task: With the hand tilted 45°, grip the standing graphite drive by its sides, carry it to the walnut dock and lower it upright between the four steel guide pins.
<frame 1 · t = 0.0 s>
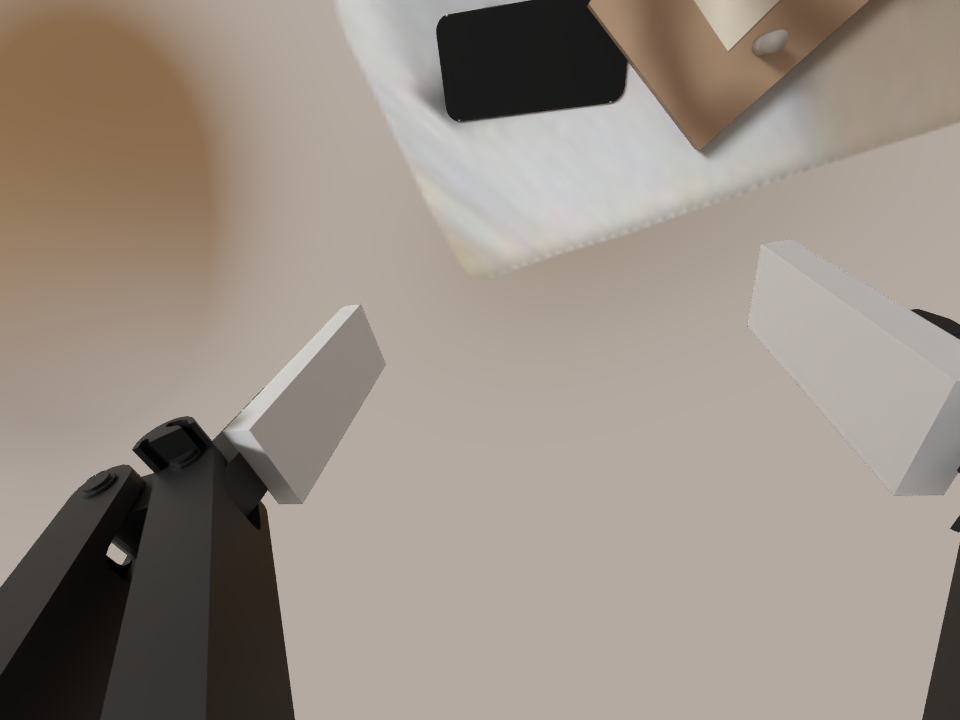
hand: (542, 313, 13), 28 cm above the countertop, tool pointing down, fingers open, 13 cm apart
smartphone: (531, 60, 32), on the countertop
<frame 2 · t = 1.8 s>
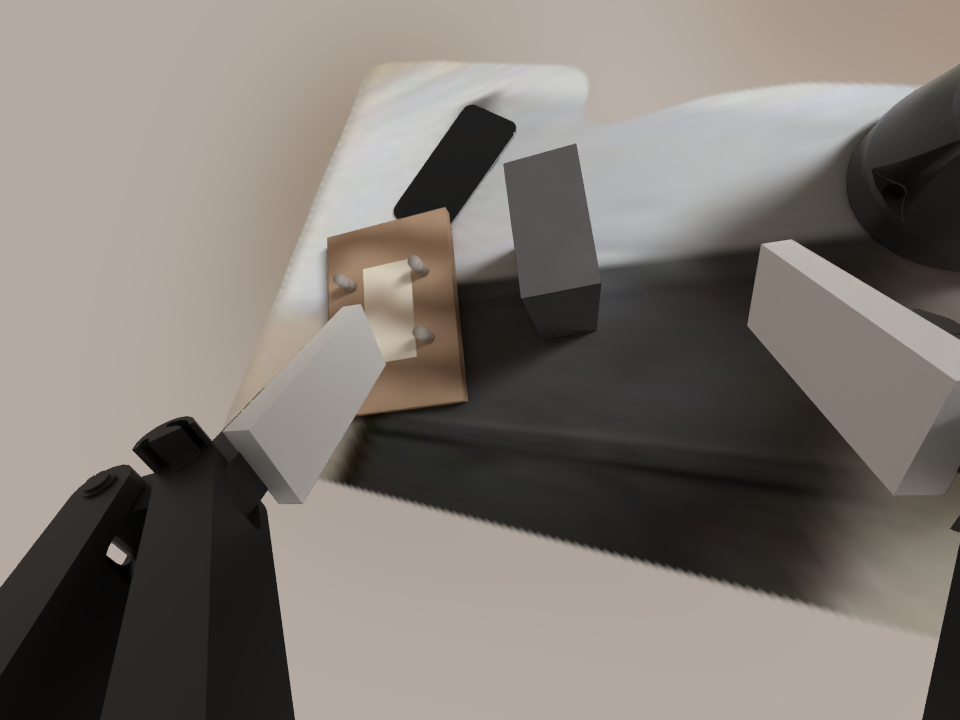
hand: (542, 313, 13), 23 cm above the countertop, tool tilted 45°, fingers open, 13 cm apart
dock: (395, 315, 41), on the countertop
drive: (560, 284, 37), on the countertop
smartphone: (455, 175, 43), on the countertop
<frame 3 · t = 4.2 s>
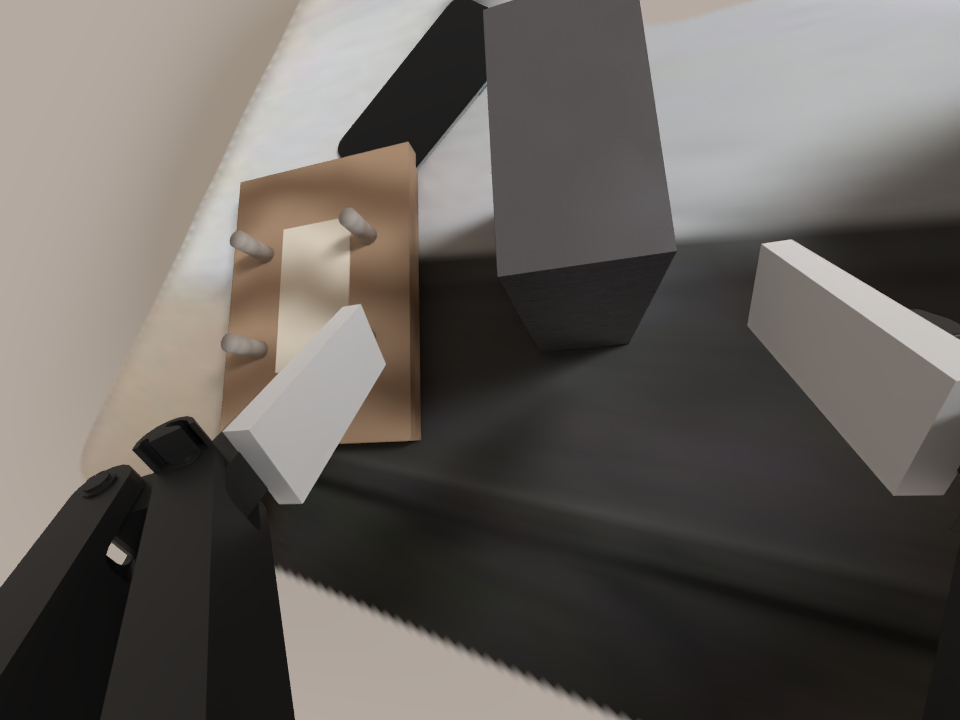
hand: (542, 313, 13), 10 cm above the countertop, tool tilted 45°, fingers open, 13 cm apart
dock: (328, 301, 28), on the countertop
drive: (575, 267, 24), on the countertop
smartphone: (430, 100, 29), on the countertop
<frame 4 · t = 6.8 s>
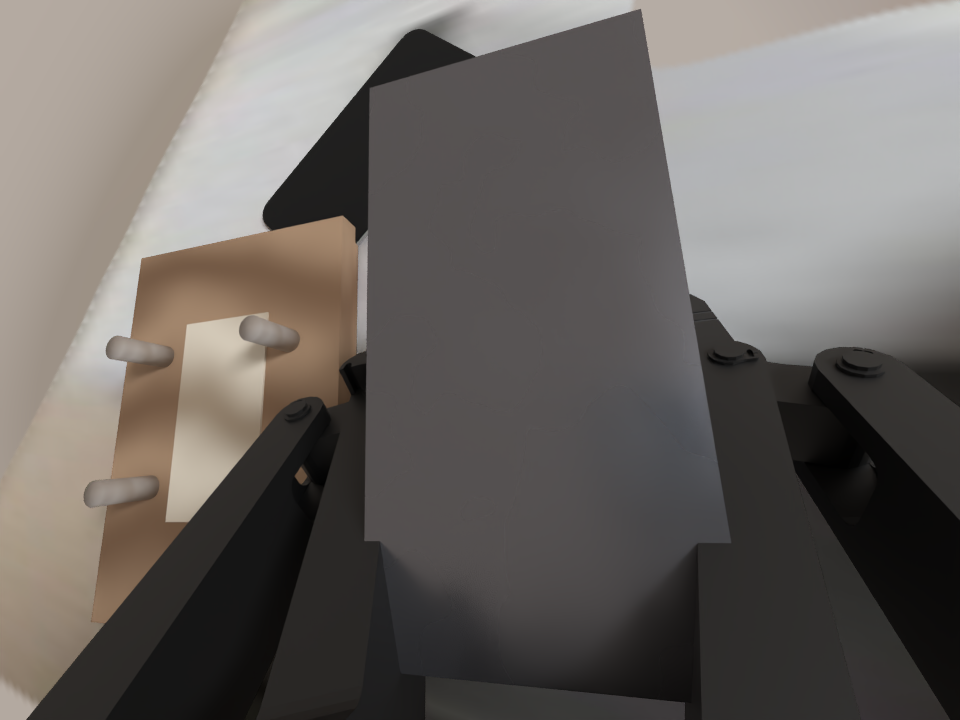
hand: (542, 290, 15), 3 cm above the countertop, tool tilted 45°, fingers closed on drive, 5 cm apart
dock: (243, 416, 22), on the countertop
drive: (557, 394, 17), on the countertop, touching gripper
smartphone: (378, 156, 23), on the countertop
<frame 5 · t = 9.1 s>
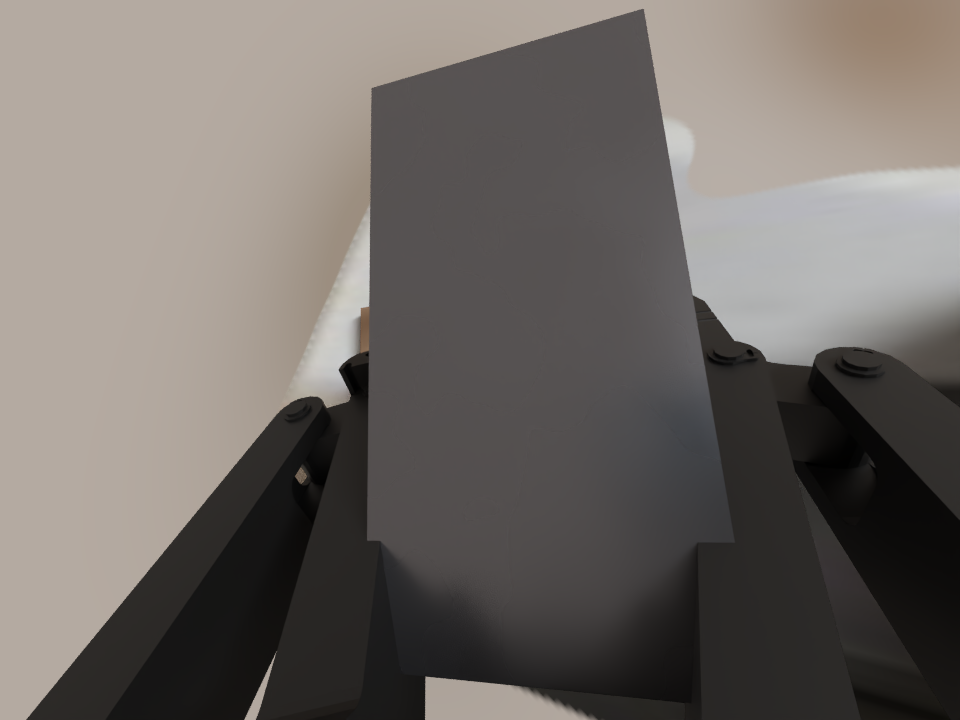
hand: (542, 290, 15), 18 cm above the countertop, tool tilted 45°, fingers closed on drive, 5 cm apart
dock: (439, 412, 34), on the countertop
drive: (558, 394, 17), point 14 cm above the countertop, touching gripper
when the fingers open (7 cm above the countertop, at t = 11.8 s): drive drops 2 cm, resting on dock.
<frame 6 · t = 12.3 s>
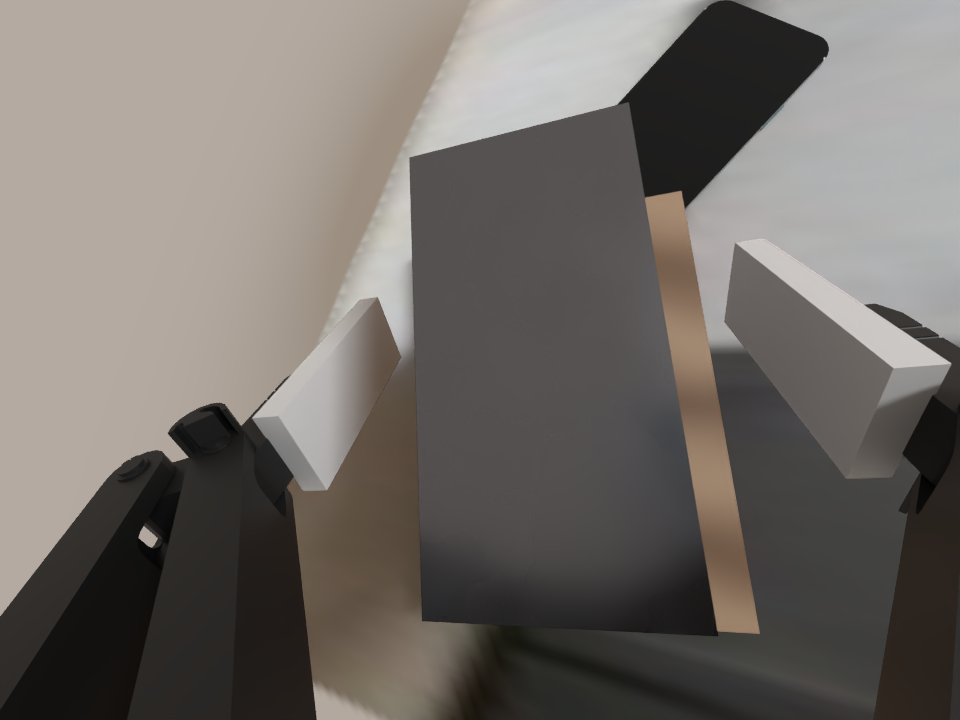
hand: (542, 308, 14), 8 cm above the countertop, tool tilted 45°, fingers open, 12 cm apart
dock: (561, 400, 21), on the countertop
drive: (562, 399, 19), point 2 cm above the countertop, touching dock
smartphone: (676, 132, 22), on the countertop
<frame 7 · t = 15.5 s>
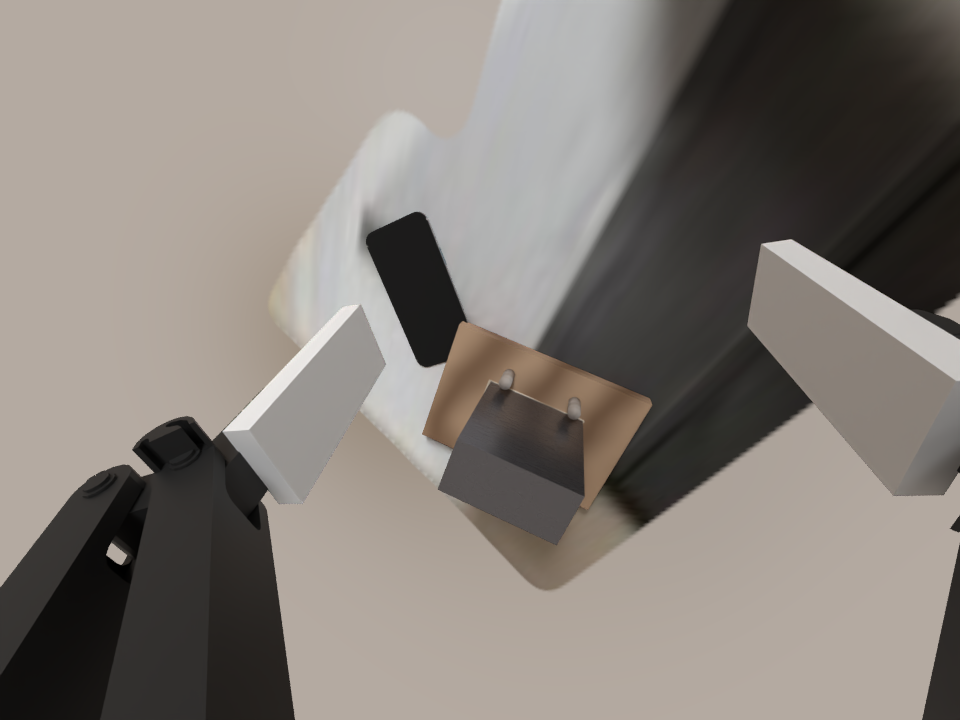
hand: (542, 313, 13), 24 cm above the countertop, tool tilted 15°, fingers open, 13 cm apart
dock: (528, 414, 42), on the countertop
drive: (527, 420, 40), point 2 cm above the countertop, touching dock
smartphone: (424, 293, 41), on the countertop
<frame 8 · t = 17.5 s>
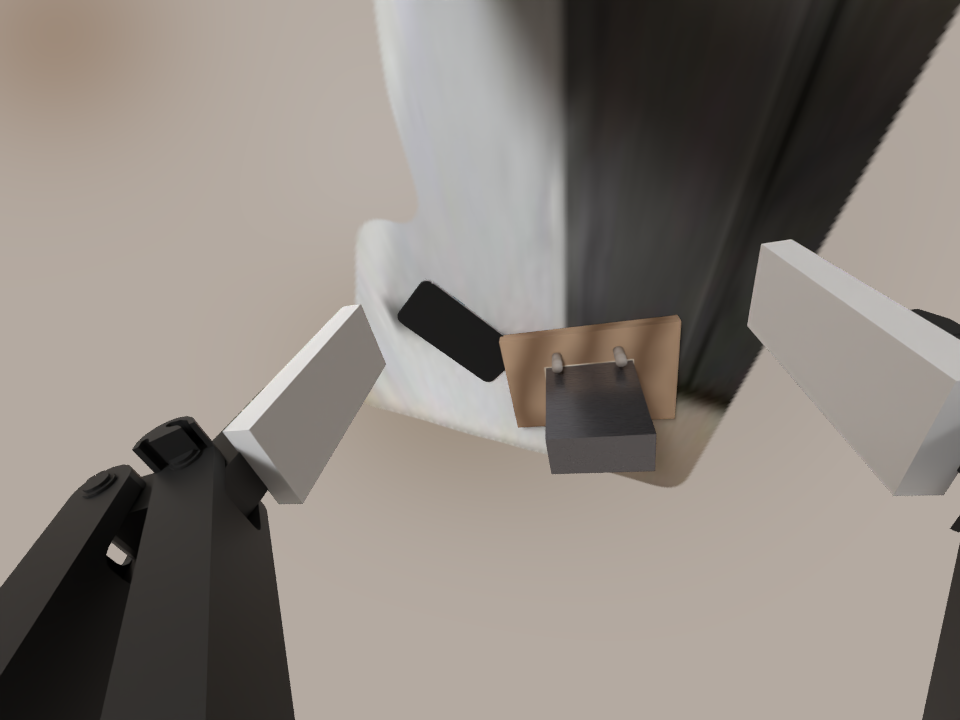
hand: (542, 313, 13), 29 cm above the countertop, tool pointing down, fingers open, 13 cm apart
dock: (588, 374, 49), on the countertop
drive: (589, 380, 48), point 2 cm above the countertop, touching dock
smartphone: (460, 331, 49), on the countertop
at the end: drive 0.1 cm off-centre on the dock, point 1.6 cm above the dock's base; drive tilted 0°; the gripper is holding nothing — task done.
